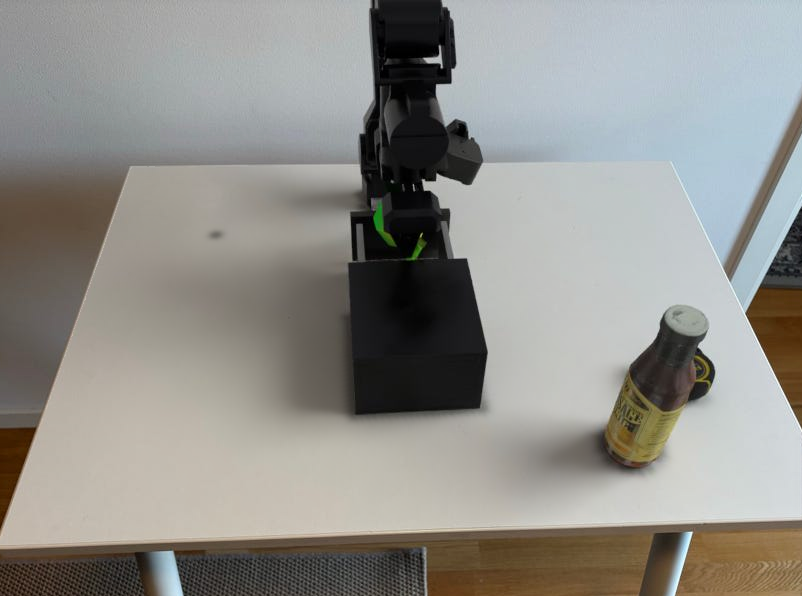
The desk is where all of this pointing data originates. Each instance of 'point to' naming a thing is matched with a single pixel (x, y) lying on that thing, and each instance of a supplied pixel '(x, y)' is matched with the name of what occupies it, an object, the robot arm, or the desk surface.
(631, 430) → the sauce bottle
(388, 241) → the apple
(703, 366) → the tape measure
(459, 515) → the desk surface
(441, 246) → the tray
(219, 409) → the desk surface
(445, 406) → the box
